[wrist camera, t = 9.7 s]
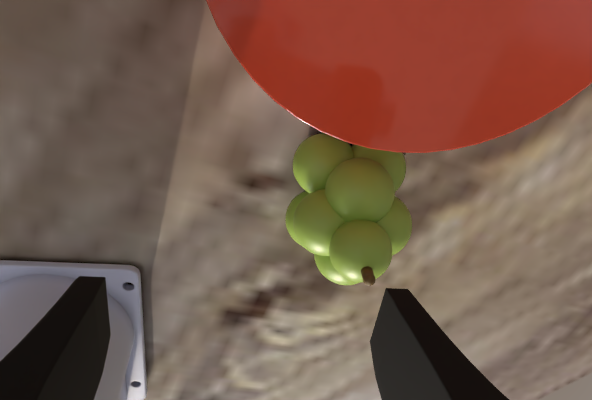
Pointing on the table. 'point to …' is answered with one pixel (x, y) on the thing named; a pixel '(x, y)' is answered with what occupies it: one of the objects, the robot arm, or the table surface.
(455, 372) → the robot arm
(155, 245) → the table surface
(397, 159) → the grapes
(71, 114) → the table surface
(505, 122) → the pot lid
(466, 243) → the table surface
